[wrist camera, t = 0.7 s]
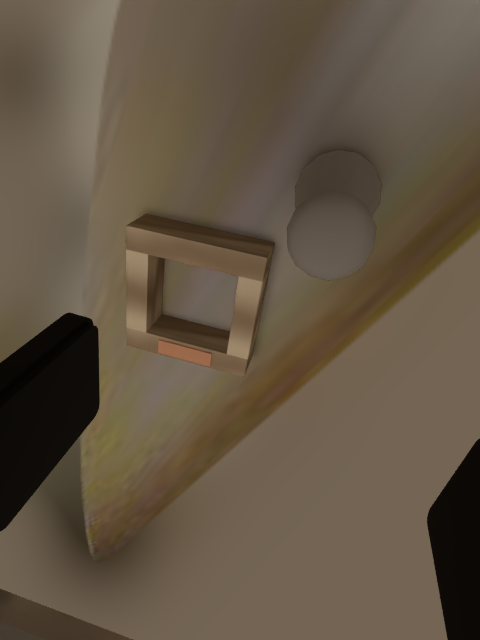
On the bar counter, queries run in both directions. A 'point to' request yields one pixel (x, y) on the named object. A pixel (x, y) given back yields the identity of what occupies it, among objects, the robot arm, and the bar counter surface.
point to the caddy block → (203, 251)
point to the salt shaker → (334, 215)
